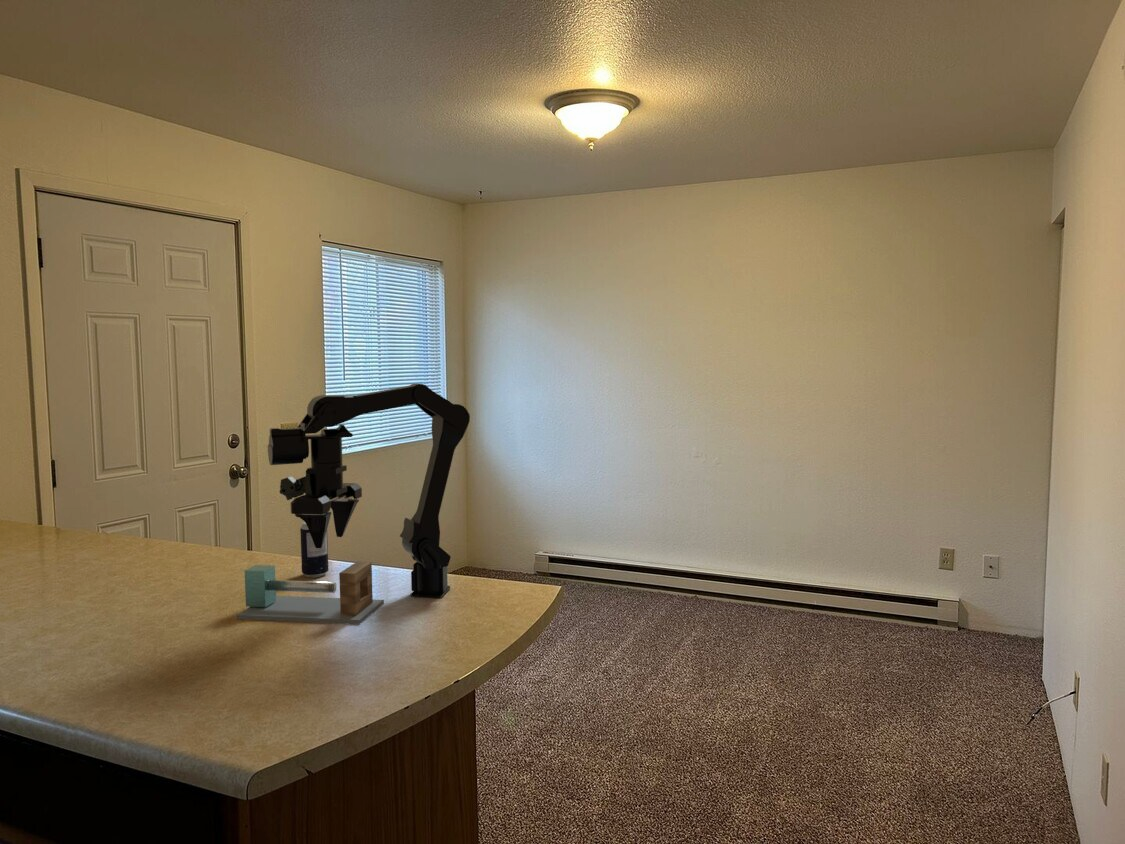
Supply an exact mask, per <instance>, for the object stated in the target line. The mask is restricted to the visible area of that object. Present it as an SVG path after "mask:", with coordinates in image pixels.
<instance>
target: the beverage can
mask: <svg viewBox="0 0 1125 844" xmlns="http://www.w3.org/2000/svg"><path fill="white" fill-rule="evenodd" d="M299 529H300V531H299V532H300V533H299V534H300V551H301V553H300V554H301V555H300V557H301V558H300V559H301V573H302V574H303V575H304V576H305V577H306V578H313V579H314V578H319V577H320V578H321V577H323V576H325V575H326V573H327V572H328V571H329V551H328V550H329V549H328V548H329V546H328V545H329V544H328V530H327V531H326V535H325V539H324V542H323V545H322V548H316V547H315V545H314V542H313V540H312V537H311V534H310V532H309V529H308V527H307V525H306V523H305V521H303V522H301V526H300V528H299Z"/></svg>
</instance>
